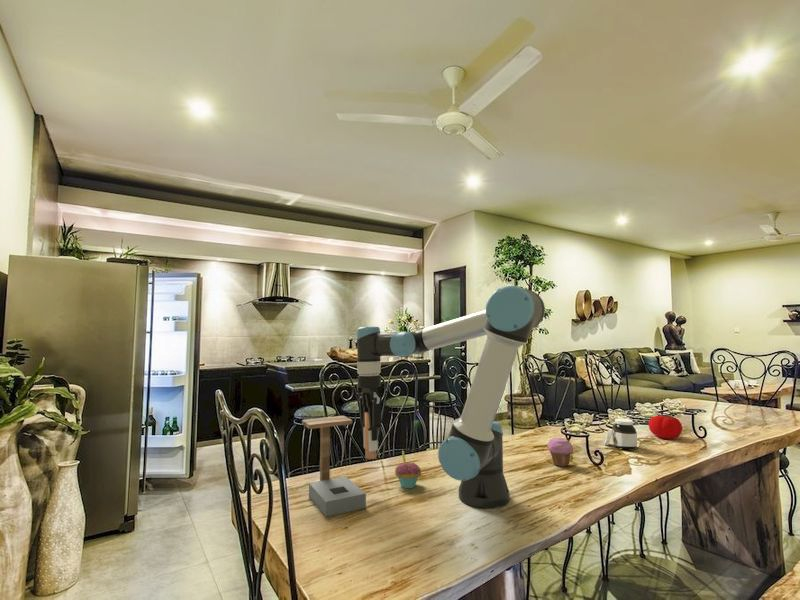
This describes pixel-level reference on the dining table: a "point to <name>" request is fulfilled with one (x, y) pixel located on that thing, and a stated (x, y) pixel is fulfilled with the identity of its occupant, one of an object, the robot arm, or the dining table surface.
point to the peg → (368, 453)
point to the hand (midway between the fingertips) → (370, 448)
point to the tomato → (665, 426)
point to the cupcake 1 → (407, 473)
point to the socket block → (337, 496)
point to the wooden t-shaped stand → (325, 439)
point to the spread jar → (623, 434)
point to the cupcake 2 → (560, 451)
